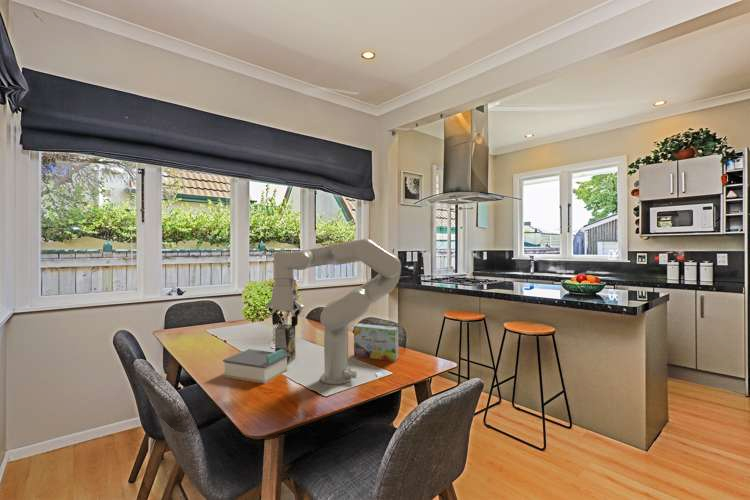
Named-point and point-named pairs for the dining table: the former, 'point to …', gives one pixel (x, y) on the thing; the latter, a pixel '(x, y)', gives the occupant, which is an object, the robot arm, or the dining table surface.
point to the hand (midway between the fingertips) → (285, 324)
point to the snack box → (376, 342)
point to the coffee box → (286, 341)
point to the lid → (257, 358)
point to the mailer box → (255, 371)
